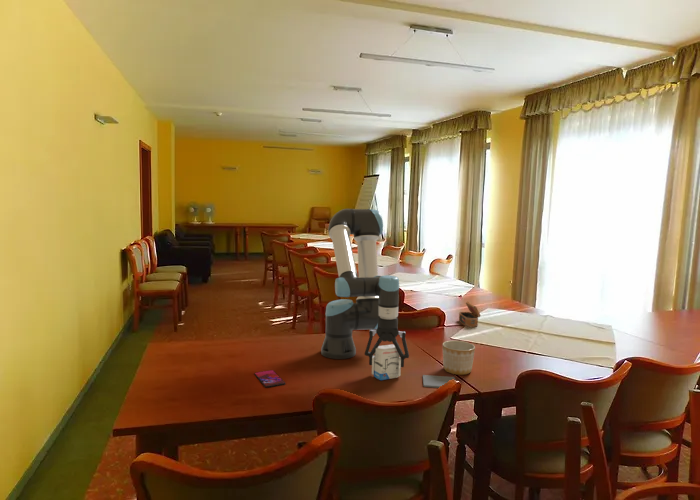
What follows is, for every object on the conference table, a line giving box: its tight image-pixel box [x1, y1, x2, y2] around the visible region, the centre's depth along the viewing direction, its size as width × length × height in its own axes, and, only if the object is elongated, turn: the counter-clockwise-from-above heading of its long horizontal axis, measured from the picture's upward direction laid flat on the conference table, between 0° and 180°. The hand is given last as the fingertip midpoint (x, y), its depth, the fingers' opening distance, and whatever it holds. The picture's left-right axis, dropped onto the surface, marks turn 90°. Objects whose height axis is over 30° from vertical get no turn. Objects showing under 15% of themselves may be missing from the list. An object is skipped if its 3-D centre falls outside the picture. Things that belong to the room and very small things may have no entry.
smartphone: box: [254, 369, 286, 389], centre depth 173 cm, size 8×1×15 cm
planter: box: [442, 340, 476, 376], centre depth 185 cm, size 13×13×10 cm
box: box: [458, 301, 481, 328], centre depth 256 cm, size 28×28×12 cm
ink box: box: [373, 343, 400, 381], centre depth 177 cm, size 9×5×12 cm, turn 118°
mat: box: [422, 374, 456, 389], centre depth 173 cm, size 12×10×1 cm
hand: (386, 374), depth 177 cm, fingers closed on ink box, 9 cm apart
